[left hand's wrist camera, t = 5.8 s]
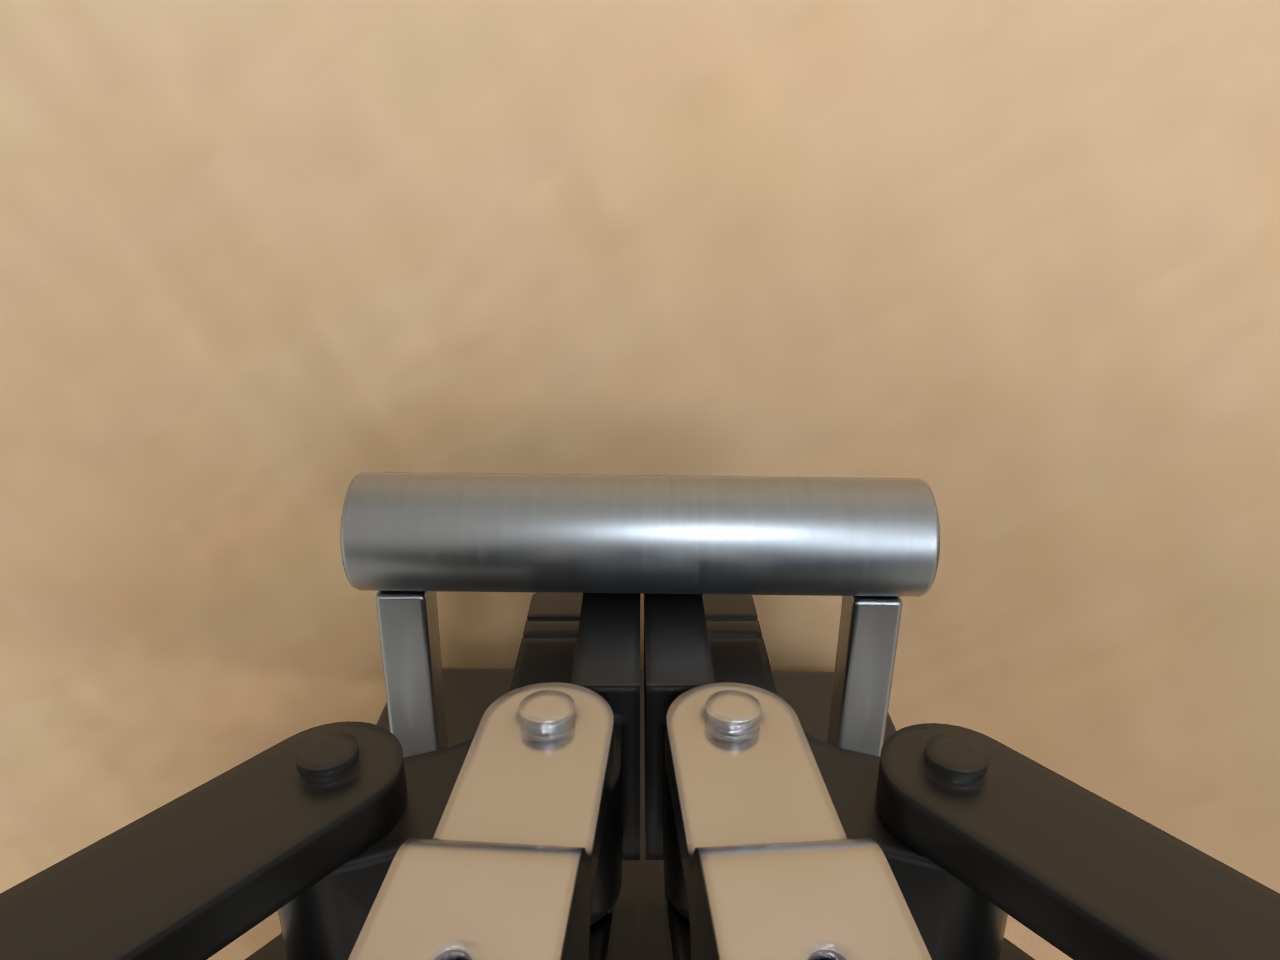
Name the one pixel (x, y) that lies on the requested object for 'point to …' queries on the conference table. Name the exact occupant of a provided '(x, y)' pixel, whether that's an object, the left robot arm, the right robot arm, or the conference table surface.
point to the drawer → (637, 590)
